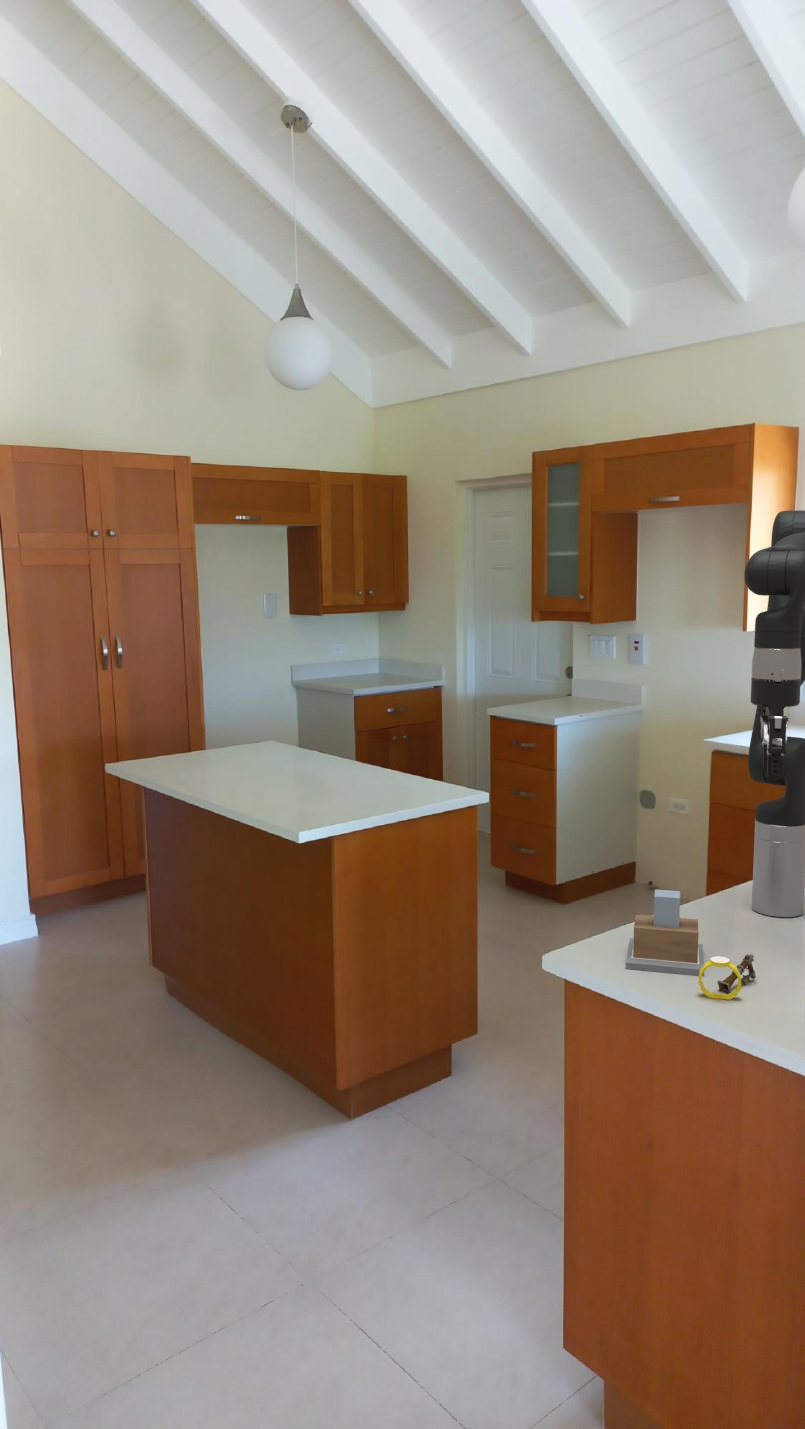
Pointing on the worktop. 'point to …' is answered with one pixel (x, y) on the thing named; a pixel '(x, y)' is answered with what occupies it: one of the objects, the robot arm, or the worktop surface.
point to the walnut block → (666, 940)
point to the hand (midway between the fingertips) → (772, 774)
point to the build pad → (664, 963)
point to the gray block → (666, 908)
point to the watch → (720, 962)
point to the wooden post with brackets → (730, 980)
